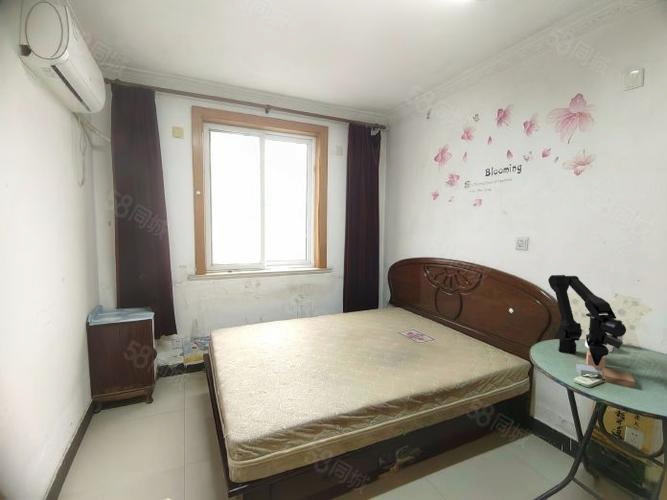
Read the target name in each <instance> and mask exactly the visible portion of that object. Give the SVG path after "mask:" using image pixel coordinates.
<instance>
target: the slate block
mask: <svg viewBox="0 0 667 500" xmlns="http://www.w3.org/2000/svg"><path fill="white" fill-rule="evenodd" d="M575 371H576V372H577V374H578V375H579V376H580V375H581V376H580V377H583V376H582V375H586V374H592V375H597V376H598V377H599V371H598V369H595V368H594V367H593V366H589V365H587V364H580V363H575Z"/></svg>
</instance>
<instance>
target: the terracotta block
mask: <svg viewBox="0 0 667 500" xmlns="http://www.w3.org/2000/svg"><path fill="white" fill-rule="evenodd" d="M606 360H607V358H606V356H603V357H602V359H601V361H600V363H599V366H596V365H595V364H594V361H593V358H592V356H591V354H590V351H589V349H587V350H586V361H585V363H586V365H589V366H593V367H594V368H595V369H596V370H599V371H600V370H601V371H602V367H604V368H606Z"/></svg>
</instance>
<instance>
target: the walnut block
mask: <svg viewBox="0 0 667 500" xmlns="http://www.w3.org/2000/svg"><path fill="white" fill-rule="evenodd" d="M601 374H602V378H603V377H604V378H603V380H604V379H605V381H604V383H608V384H609V383H610V384H612V385H618V386H623V387H627V388H632V389H635V387H636V381H635V379H634V377H633V375H632V374H631V372H629V371H624V370H618V369H615V368H614V369H613V368H607V367H605V368H604V367H602V370H601Z"/></svg>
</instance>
